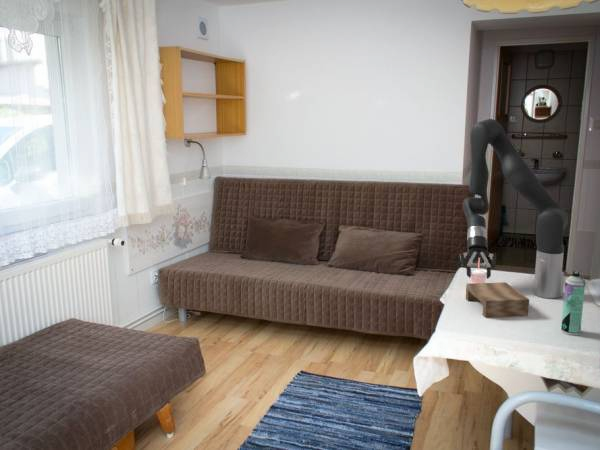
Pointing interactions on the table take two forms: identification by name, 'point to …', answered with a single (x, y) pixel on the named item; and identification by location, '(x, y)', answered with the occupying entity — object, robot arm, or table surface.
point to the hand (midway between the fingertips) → (478, 277)
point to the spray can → (573, 304)
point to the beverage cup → (478, 274)
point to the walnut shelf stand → (498, 299)
